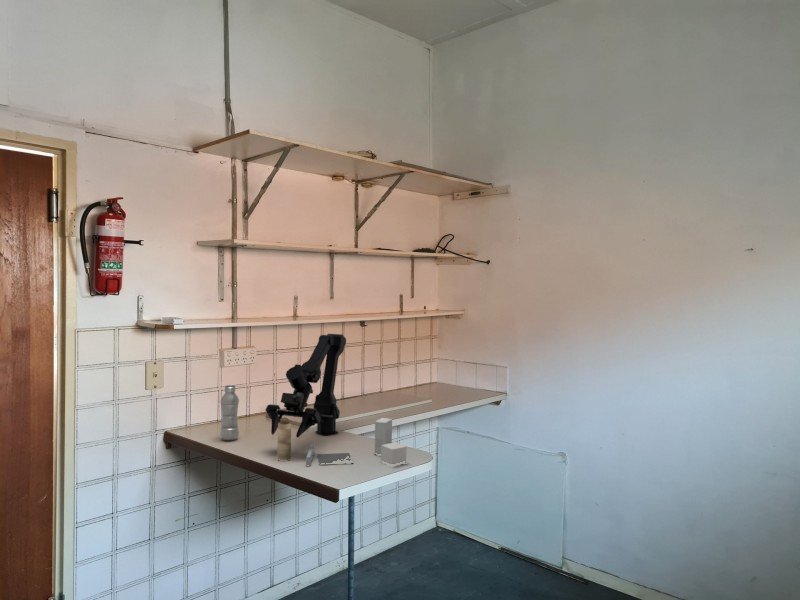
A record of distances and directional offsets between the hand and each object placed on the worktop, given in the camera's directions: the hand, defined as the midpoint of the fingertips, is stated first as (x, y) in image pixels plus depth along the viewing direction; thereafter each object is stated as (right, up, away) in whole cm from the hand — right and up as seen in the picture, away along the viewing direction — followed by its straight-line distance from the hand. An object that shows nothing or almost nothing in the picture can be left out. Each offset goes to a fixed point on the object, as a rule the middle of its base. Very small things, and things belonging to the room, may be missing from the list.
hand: (284, 435), depth 195 cm
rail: (+9, -8, 0) cm, 12 cm away
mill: (0, -8, 0) cm, 8 cm away
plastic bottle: (-25, -7, +21) cm, 33 cm away
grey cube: (+36, -9, -1) cm, 38 cm away
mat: (+17, -8, +1) cm, 19 cm away
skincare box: (+33, -9, +9) cm, 35 cm away
